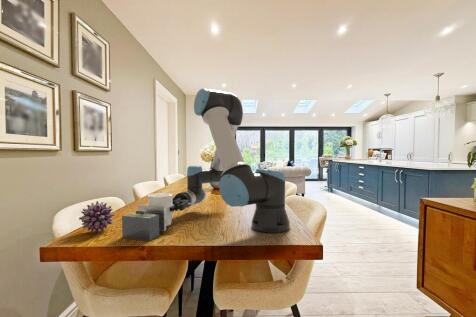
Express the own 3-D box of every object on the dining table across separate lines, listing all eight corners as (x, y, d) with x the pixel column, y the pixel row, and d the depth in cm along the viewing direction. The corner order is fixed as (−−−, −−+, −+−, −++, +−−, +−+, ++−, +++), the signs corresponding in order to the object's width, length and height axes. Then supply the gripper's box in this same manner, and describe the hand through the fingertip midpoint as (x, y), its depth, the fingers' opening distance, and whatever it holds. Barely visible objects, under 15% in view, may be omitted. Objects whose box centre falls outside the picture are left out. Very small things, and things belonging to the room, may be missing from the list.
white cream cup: (166, 228, 92) (165, 197, 91) (142, 227, 94) (142, 196, 93) (177, 221, 101) (177, 193, 101) (156, 220, 103) (155, 192, 103)
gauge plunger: (166, 230, 91) (165, 206, 91) (153, 236, 84) (153, 210, 84) (140, 227, 95) (140, 204, 95) (126, 233, 88) (125, 208, 88)
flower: (116, 233, 91) (115, 202, 91) (78, 239, 85) (77, 205, 84) (114, 225, 101) (113, 197, 101) (80, 230, 95) (79, 200, 94)
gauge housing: (159, 236, 87) (158, 214, 87) (149, 241, 82) (149, 217, 82) (132, 233, 91) (132, 212, 91) (122, 237, 86) (121, 215, 86)
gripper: (205, 209, 111) (177, 222, 90) (165, 206, 118) (131, 217, 97) (204, 192, 111) (177, 202, 89) (165, 190, 118) (130, 199, 97)
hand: (153, 210), depth 93 cm, fingers closed on white cream cup, 9 cm apart
